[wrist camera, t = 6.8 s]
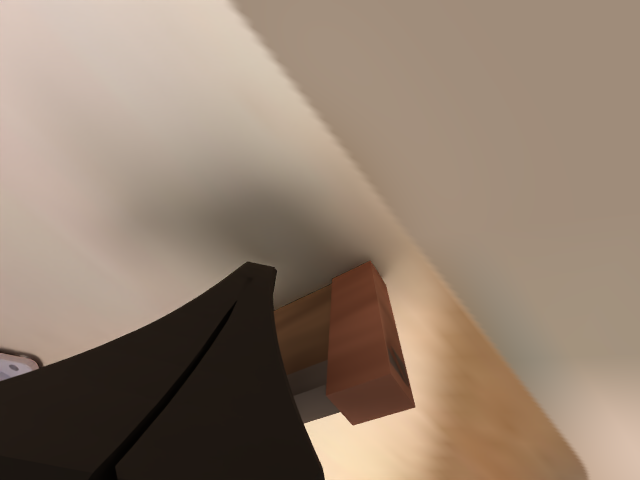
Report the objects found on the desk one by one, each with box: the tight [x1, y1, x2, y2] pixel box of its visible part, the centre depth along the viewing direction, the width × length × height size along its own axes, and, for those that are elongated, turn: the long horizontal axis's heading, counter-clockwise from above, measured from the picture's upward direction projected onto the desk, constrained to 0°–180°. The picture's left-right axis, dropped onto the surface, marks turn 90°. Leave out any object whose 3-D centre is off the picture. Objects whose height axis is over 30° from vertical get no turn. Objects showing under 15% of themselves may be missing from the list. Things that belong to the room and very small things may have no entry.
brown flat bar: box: [274, 261, 415, 425], centre depth 12 cm, size 1×17×5 cm, turn 122°
